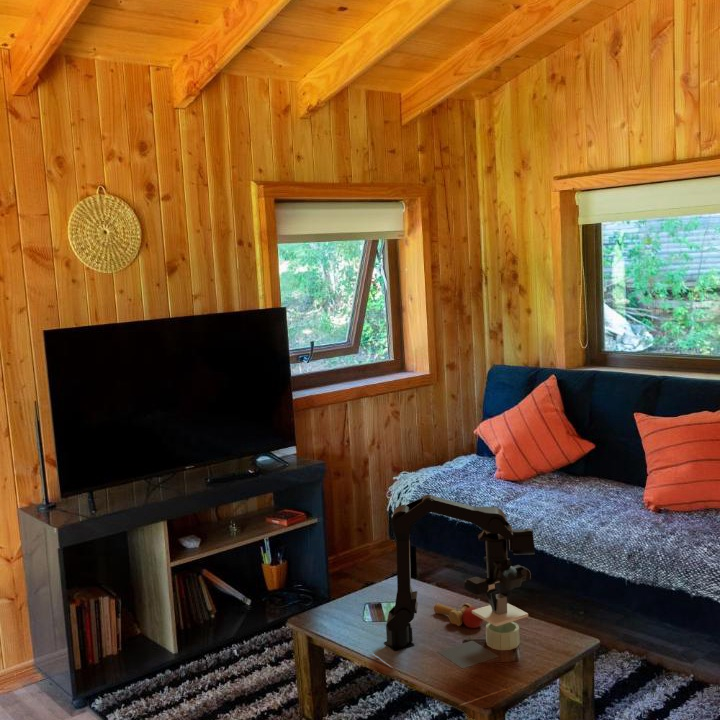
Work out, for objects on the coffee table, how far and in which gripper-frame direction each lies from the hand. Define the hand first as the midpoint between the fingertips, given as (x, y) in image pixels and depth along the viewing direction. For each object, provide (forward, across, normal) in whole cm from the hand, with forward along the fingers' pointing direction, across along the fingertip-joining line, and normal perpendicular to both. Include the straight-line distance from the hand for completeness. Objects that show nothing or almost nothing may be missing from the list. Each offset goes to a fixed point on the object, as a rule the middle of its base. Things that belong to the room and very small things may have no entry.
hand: (499, 609), depth 249 cm
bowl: (+10, +1, 0) cm, 11 cm away
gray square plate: (+10, -11, 0) cm, 15 cm away
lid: (+2, 0, 0) cm, 2 cm away
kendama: (+11, -1, +20) cm, 23 cm away
